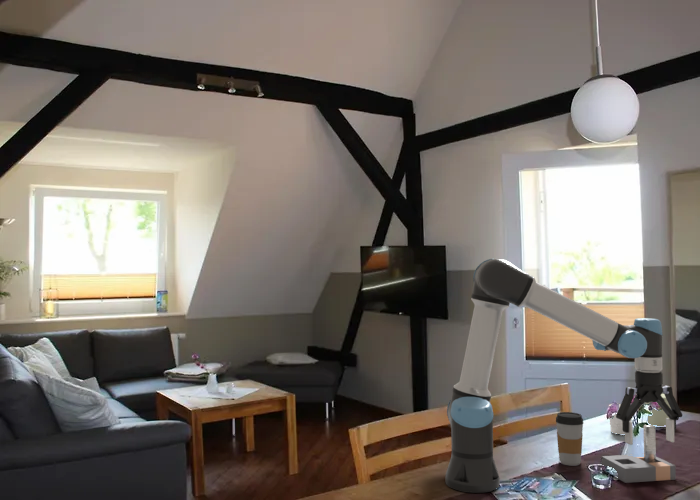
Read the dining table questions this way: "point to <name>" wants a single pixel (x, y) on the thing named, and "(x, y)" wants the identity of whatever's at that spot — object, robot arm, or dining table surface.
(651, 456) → the pin
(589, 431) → the dining table surface
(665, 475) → the mount block
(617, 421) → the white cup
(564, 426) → the coffee cup
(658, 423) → the can
